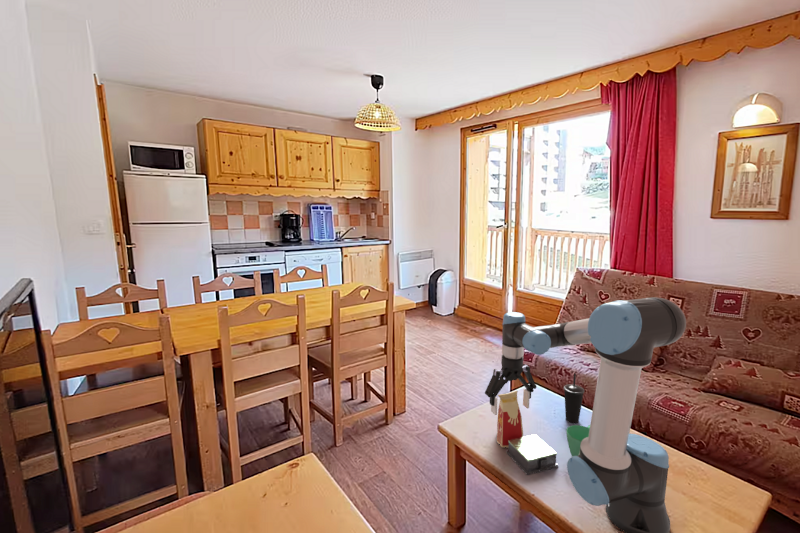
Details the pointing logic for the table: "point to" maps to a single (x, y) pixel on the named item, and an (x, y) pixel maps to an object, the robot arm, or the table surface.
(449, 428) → the table surface
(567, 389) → the drinking cup
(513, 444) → the stand
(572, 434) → the mug
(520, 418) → the milk carton
